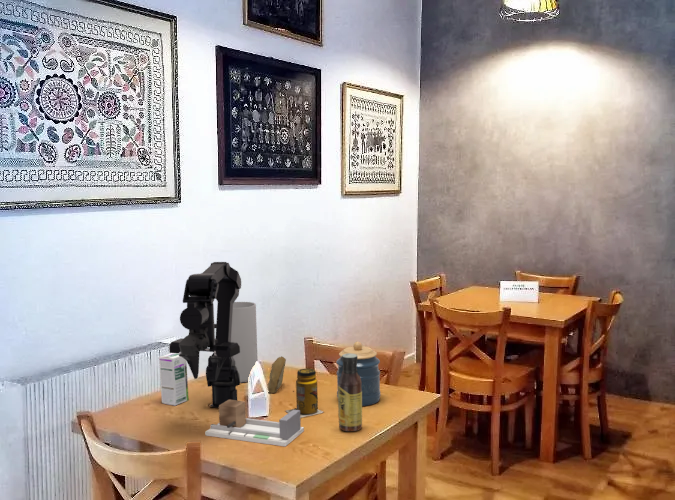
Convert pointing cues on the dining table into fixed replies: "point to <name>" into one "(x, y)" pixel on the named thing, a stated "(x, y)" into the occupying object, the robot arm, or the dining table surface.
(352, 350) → the canister
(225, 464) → the dining table surface
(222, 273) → the robot arm
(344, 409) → the sauce bottle
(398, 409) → the dining table surface
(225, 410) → the brown cardboard cube
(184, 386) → the syrup box
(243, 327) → the cylinder vase
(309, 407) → the condiment
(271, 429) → the gauge base
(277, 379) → the rock
